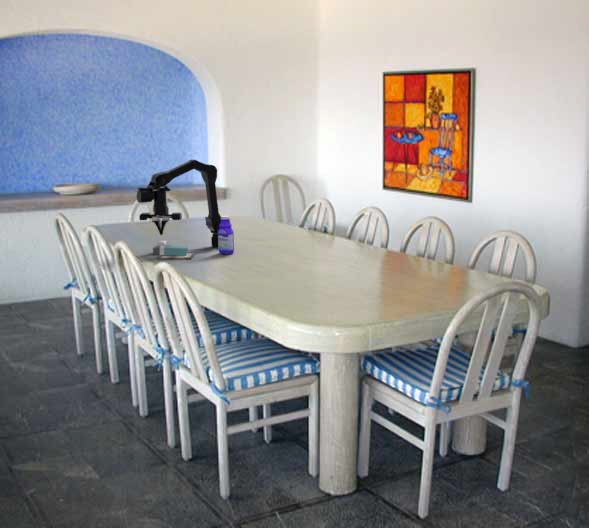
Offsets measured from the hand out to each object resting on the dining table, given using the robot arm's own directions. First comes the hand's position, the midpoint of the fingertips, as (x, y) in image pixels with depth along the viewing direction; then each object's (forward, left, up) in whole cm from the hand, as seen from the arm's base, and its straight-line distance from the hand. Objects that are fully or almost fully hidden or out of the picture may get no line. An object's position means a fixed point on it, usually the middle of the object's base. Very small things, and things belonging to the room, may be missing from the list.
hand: (161, 234), depth 356 cm
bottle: (-30, +2, -9) cm, 31 cm away
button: (0, 0, -6) cm, 6 cm away
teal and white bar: (-8, +10, -7) cm, 15 cm away
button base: (0, 0, -8) cm, 9 cm away
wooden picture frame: (-8, +10, -8) cm, 15 cm away
